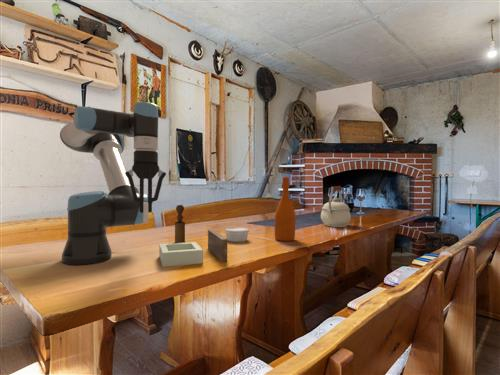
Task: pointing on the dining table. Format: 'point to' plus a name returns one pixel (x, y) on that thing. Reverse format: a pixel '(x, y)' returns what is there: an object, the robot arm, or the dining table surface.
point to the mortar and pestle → (179, 226)
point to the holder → (180, 254)
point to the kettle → (335, 211)
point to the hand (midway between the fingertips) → (145, 222)
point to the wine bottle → (285, 216)
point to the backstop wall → (217, 245)
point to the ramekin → (237, 234)
